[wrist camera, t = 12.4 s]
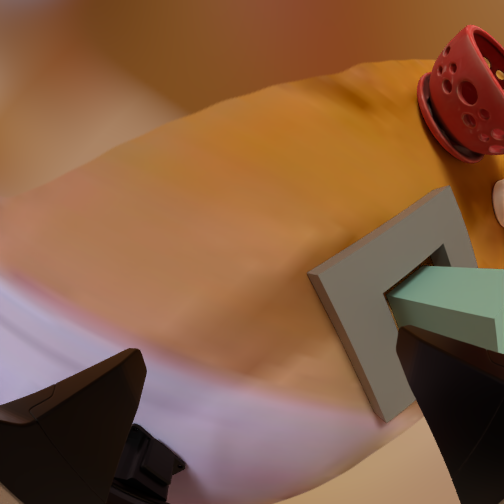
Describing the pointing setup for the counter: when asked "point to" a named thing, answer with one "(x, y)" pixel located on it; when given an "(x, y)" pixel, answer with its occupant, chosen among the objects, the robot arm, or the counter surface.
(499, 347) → the plug block
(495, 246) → the counter surface
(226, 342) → the counter surface
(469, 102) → the plant pot
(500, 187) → the can
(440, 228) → the socket plate
